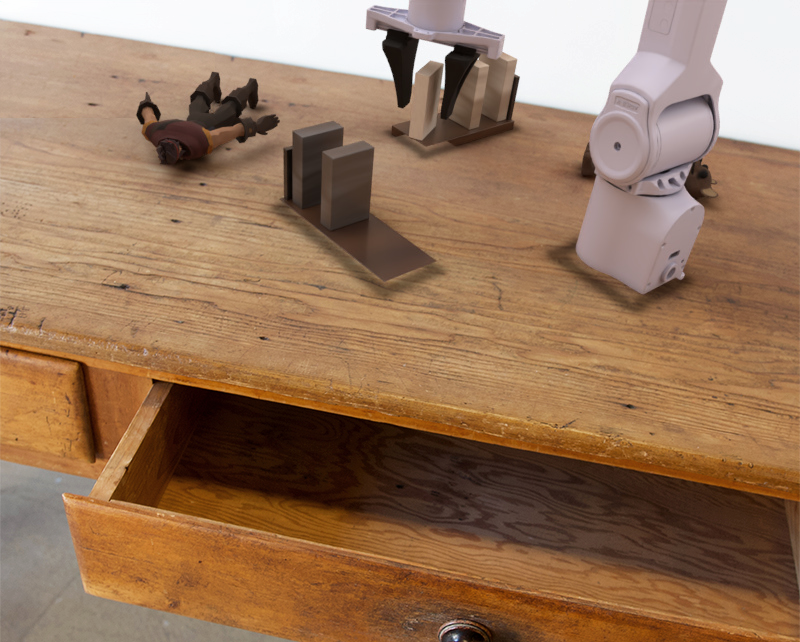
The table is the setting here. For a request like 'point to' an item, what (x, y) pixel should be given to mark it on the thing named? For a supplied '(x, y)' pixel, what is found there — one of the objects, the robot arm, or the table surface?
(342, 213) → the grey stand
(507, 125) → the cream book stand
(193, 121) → the figurine
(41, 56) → the table surface
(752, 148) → the table surface
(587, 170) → the bear figurine
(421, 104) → the cream wooden block
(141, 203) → the table surface
